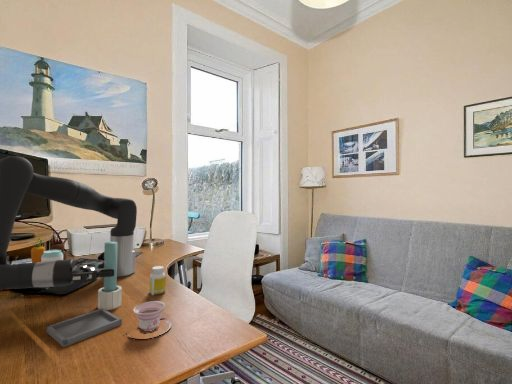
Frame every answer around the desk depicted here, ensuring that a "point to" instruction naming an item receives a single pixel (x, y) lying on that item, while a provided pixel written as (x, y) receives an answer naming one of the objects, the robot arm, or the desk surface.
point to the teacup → (150, 315)
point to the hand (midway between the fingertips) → (115, 268)
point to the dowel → (110, 266)
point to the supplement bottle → (157, 281)
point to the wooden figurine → (59, 247)
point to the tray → (82, 326)
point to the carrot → (37, 252)
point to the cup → (109, 298)
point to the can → (52, 255)
